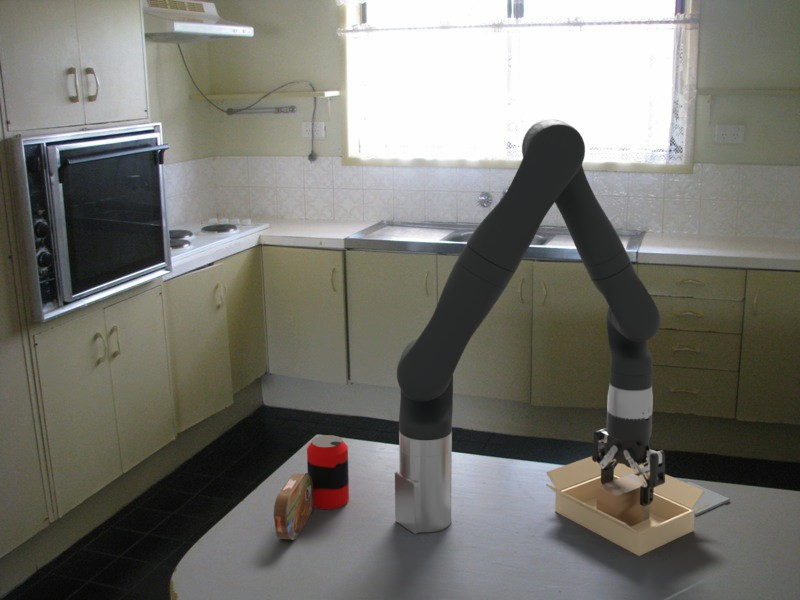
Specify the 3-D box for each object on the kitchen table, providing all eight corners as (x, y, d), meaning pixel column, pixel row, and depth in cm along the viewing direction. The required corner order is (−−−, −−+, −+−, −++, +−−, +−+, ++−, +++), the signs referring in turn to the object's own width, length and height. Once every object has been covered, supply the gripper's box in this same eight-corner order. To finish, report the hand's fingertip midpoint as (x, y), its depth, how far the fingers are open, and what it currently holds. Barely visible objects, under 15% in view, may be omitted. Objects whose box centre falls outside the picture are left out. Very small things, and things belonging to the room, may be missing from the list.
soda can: (333, 513, 158) (331, 452, 155) (300, 503, 162) (298, 444, 159) (356, 497, 164) (355, 438, 162) (324, 488, 168) (322, 430, 165)
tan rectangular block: (615, 533, 150) (617, 496, 148) (595, 523, 153) (597, 486, 152) (649, 518, 155) (651, 482, 153) (629, 508, 158) (631, 473, 157)
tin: (289, 549, 146) (287, 503, 144) (272, 547, 147) (269, 501, 145) (315, 508, 161) (314, 465, 159) (299, 506, 161) (297, 464, 159)
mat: (695, 516, 156) (696, 513, 156) (655, 498, 163) (655, 495, 163) (729, 501, 161) (729, 498, 161) (688, 484, 168) (688, 481, 168)
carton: (641, 571, 138) (644, 533, 137) (530, 510, 159) (531, 476, 157) (720, 533, 150) (723, 498, 148) (606, 481, 170) (608, 449, 169)
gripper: (583, 402, 153) (581, 487, 156) (648, 426, 141) (644, 517, 145) (612, 393, 157) (609, 476, 161) (678, 416, 145) (673, 504, 149)
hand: (626, 495), depth 153 cm, fingers open, 8 cm apart
